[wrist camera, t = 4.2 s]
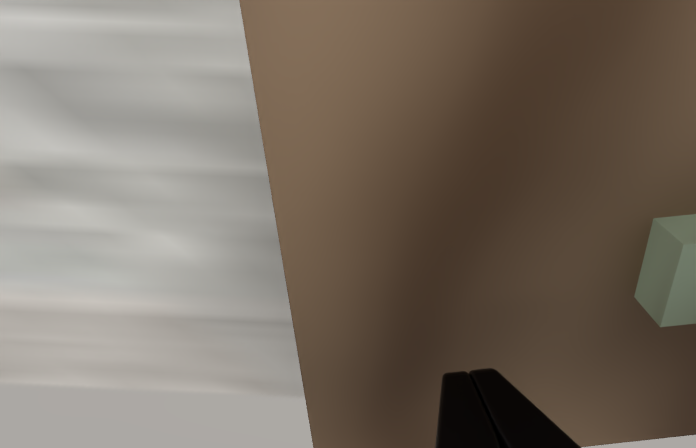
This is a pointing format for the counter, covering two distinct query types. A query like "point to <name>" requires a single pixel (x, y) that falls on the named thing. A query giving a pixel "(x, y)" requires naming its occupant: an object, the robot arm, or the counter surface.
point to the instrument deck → (484, 207)
